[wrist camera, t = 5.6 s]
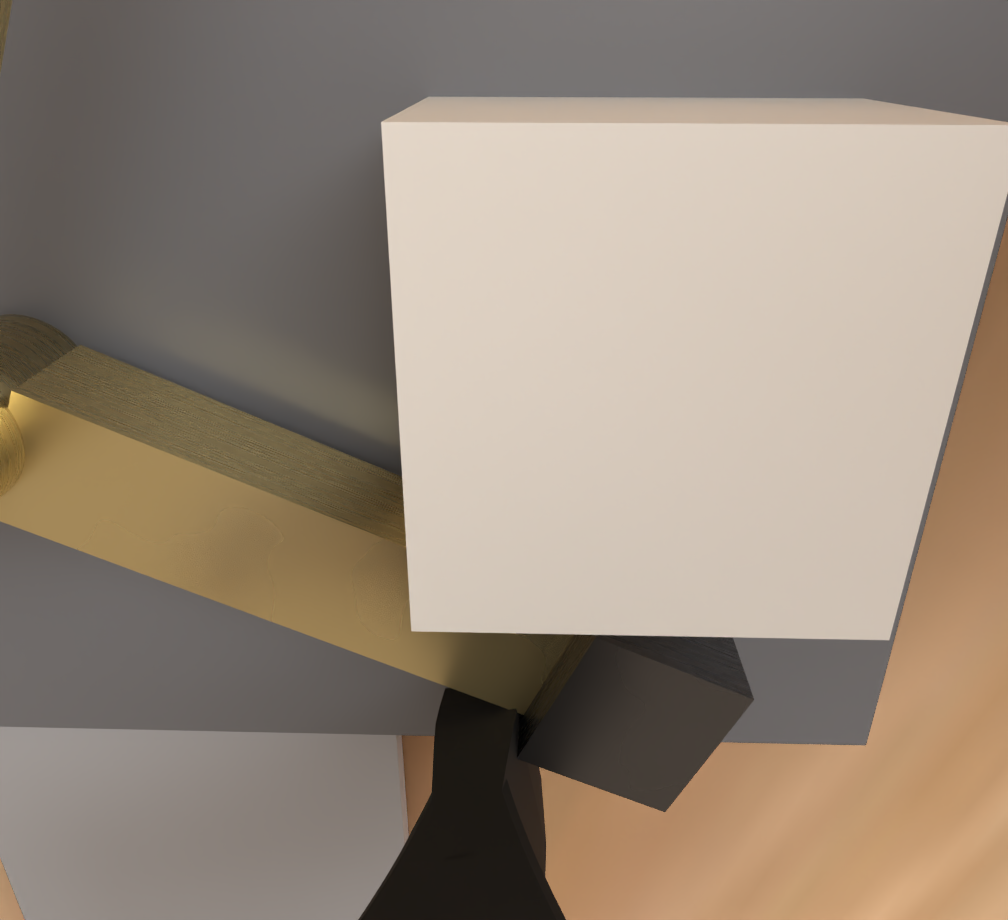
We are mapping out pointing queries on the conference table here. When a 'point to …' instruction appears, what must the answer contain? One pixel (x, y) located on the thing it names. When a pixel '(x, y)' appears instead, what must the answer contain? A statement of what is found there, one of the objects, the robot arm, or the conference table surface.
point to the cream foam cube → (678, 355)
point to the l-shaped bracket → (327, 558)
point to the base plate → (347, 284)
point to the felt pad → (198, 823)
